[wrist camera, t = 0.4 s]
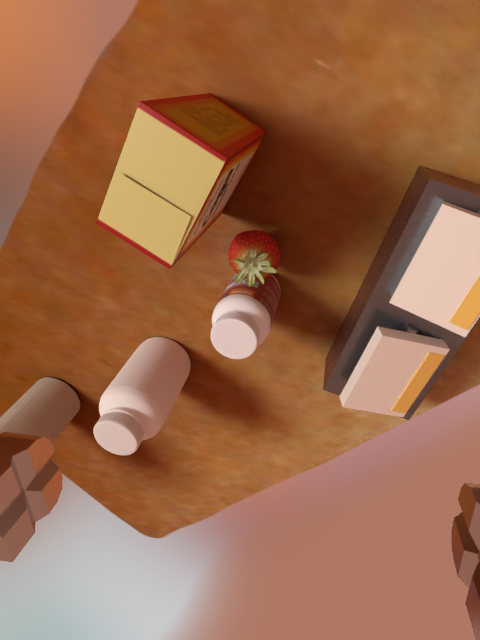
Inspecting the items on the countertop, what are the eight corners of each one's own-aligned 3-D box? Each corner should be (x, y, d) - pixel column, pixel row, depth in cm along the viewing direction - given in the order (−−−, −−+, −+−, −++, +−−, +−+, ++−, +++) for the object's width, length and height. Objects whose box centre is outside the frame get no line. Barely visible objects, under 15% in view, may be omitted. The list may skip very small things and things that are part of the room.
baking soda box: (209, 93, 39) (137, 101, 26) (267, 131, 40) (225, 159, 26) (170, 180, 44) (93, 224, 31) (222, 213, 45) (168, 270, 32)
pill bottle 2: (267, 257, 46) (246, 302, 37) (290, 302, 48) (276, 355, 39) (221, 276, 49) (191, 323, 40) (245, 318, 51) (222, 372, 42)
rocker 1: (443, 200, 34) (442, 204, 33) (532, 234, 32) (534, 239, 31) (391, 296, 39) (388, 303, 38) (465, 330, 37) (465, 338, 36)
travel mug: (88, 396, 65) (9, 493, 50) (71, 422, 69) (-7, 518, 54) (45, 367, 64) (-50, 457, 49) (30, 395, 68) (-61, 486, 53)
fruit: (261, 271, 47) (246, 303, 41) (229, 237, 46) (208, 264, 39) (295, 245, 45) (285, 274, 38) (262, 207, 44) (246, 231, 37)
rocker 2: (377, 326, 39) (383, 336, 37) (443, 339, 40) (450, 350, 39) (339, 396, 44) (343, 408, 43) (398, 406, 45) (403, 418, 44)
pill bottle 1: (185, 389, 59) (141, 474, 47) (134, 368, 60) (76, 446, 47) (199, 349, 55) (154, 429, 42) (144, 326, 55) (83, 399, 43)
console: (419, 165, 38) (431, 181, 33) (528, 200, 38) (561, 223, 32) (325, 358, 51) (322, 394, 46) (406, 387, 51) (413, 426, 45)
